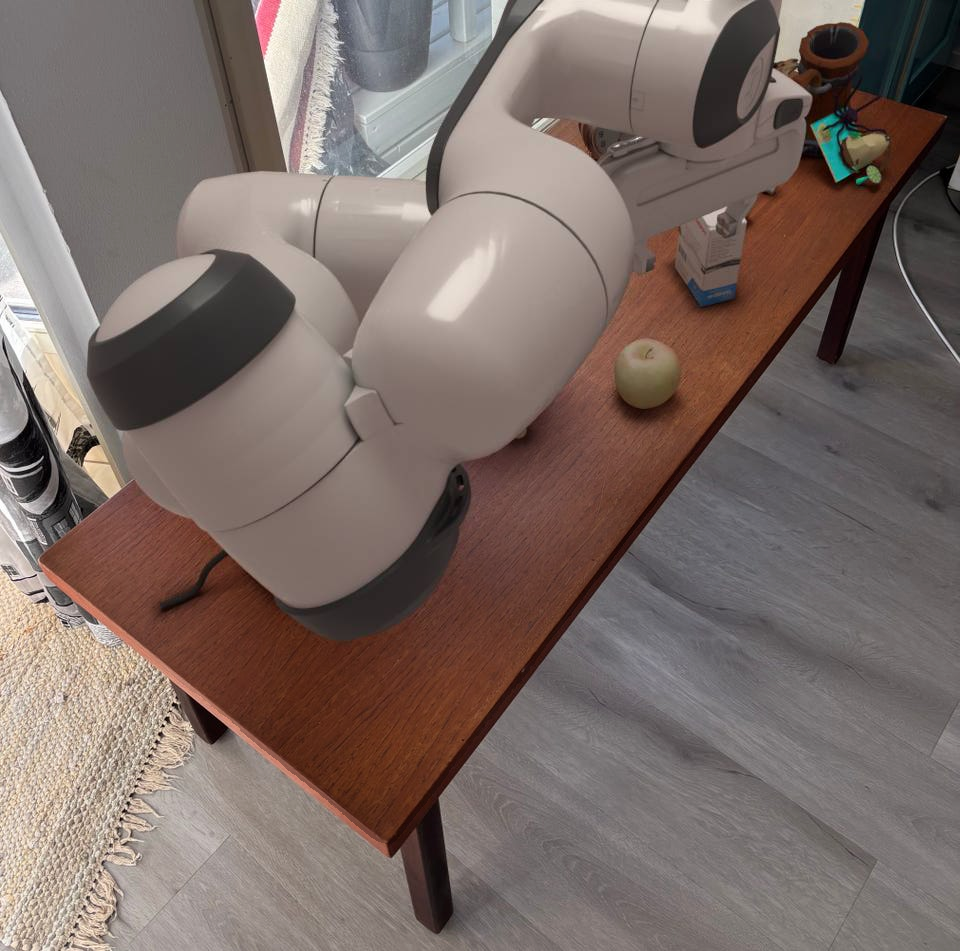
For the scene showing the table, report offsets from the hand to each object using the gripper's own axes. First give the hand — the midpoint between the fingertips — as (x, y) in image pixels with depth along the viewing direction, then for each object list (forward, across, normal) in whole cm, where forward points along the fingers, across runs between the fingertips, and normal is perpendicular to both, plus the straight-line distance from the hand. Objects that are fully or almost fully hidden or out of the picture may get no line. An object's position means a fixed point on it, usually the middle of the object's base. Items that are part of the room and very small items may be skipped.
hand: (685, 250), depth 89 cm
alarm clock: (+26, +25, +46) cm, 58 cm away
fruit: (+25, +2, +6) cm, 26 cm away
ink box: (+26, +19, +18) cm, 37 cm away
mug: (+26, +49, +35) cm, 65 cm away
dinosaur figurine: (+22, +49, +44) cm, 69 cm away
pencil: (+23, +29, +43) cm, 57 cm away
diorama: (+22, +51, +29) cm, 62 cm away
